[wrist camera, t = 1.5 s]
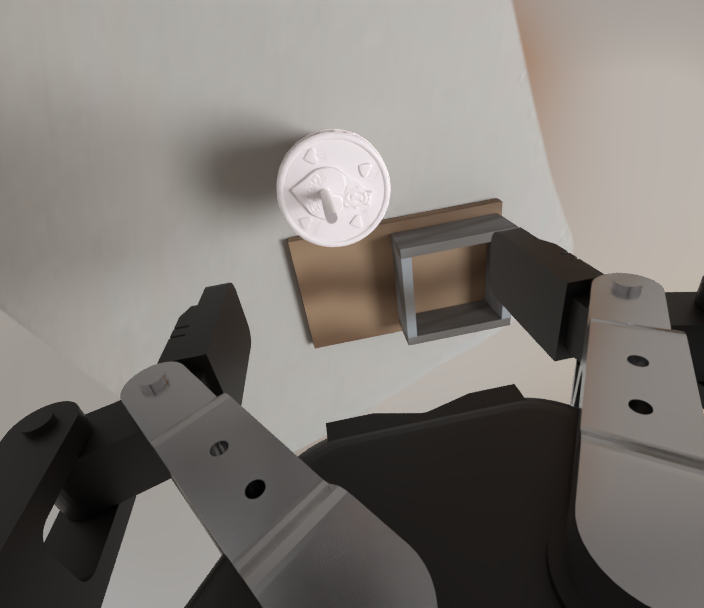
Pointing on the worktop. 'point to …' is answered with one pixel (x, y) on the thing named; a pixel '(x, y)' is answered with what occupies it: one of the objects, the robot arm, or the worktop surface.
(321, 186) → the smoothie
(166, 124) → the worktop surface
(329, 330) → the caddy
